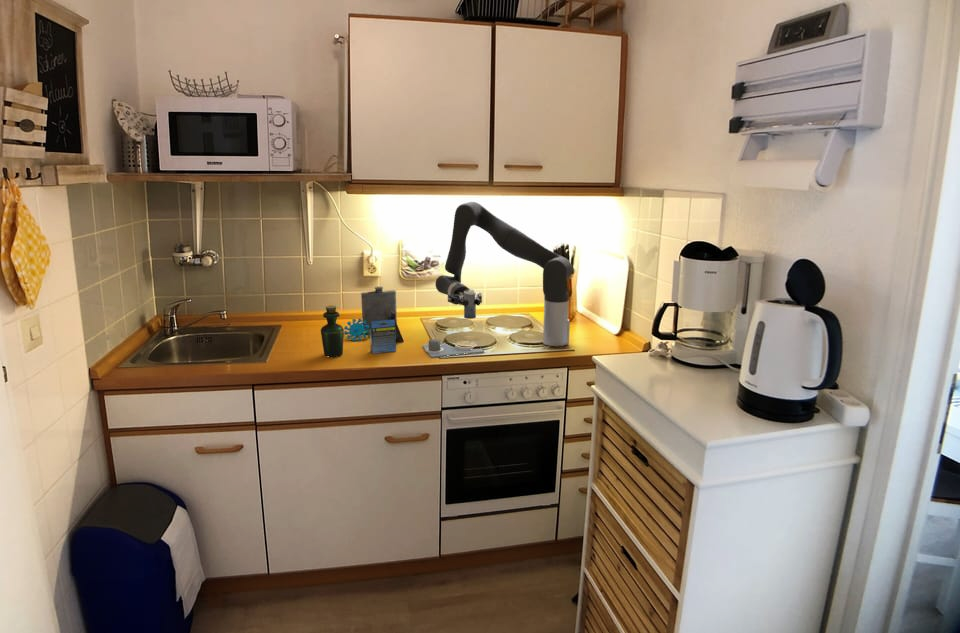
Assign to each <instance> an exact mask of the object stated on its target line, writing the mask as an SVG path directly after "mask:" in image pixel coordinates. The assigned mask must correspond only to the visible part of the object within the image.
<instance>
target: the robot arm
mask: <svg viewBox="0 0 960 633" xmlns="http://www.w3.org/2000/svg"><path fill="white" fill-rule="evenodd" d="M472 226H476V227H477V228H480V229H482V230H483V231H485V232H486V233H488V234H489V236H491V237H492V238H493V240H494V241H495V243H496V244H497V245H498V246H499V247H500V248H501V249H503V250H504V251H506V252H508V253H509V254H510V255H513V257H514V256H515V257H516V258H519V259H522V260H525V261H528V262H531V263H534V264H536V265H537V266H538V267H541V268H542V269H543V270H542V292H543V298H544V300H543V302H544V303H543V304H544V305H543V332H542V344H544V345H545V346H549V347H562V346H566V345H570V329H571V326H570V325H571V320H570V319H569V300H570V295H569V292H568V290H567V280H568V279H569V278H570V277H571V276H572V274H573V271H574V269H573V265H572V263H571V261H570V260H569V259H568V258H566V257H564V256H562V255H560V254H558V253H556V252H555V251H551V250H550V249H548V248H547V247H545V246H543V245H542V244H540V243H539V242H537V241H536V240H535V239H533V238H531V237H529V236H528V235H526V233H524V232H522V231H520V230H519V229H517V228H516V227H514V226H512V225H510V224H509V223H507V222H505V221H504V220H502V219H501V218H499V217H497V216H496V215H494V214H493V213H491V212H490V211H489V210H488V209H486V208H485V207H484V206H483V205H481V204H480V203H478V202H476V201H469V202H464V203H461V204H459V205H458V206H457V208H456V209H455V211H454V219H453V226H452V235H451V243H450V247H449V251H448V254H447V258H446V262H445V265H444V270H445V271H446V272H447V273H448V274H451V275H453V276H451V275H450V276H449V275H444V274H443V275H439V276H438V277H437V278H436V281H435V288H436V290H437V291H438V292H439V293H440V294H443V295H447V303H450V304H453V305H459V306H463V307H464V306H467V301H466V300H465V299H464V291H465V290H471V289H470V288H469V287H468V286H467V285H465V284H464V283H462V272H463V271H462V270H463V266H464V264H465V260H466V255H467V246H466V245H467V244H466V243H467V237H468V233H469V231H470V229H471V227H472ZM482 294H483V293H481V292H479V293H476V306H480V305H481V304H482V303H483V299H482V298H483V295H482Z"/></svg>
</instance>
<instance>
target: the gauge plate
mask: <svg viewBox="0 0 960 633" xmlns="http://www.w3.org/2000/svg"><path fill="white" fill-rule="evenodd" d="M469 341H470V340H465V341H464V340H463V341H462V342H469ZM457 342H458V343H460V342H461V341H457ZM474 342H475V341H473V342H469V343H473V344H474V345H473V346H471V347H461V346H458V345H457V344H458V343H457V344H454V345H455V348H454V347H452V346H450V345H448V344H446V343H447V342H444V343H442V342H441V340H440V339H438V338H431V339H429V340H428V342H427V343H428V344H422V346H421V347H422V348H423V350H425V352H426V353H427V354H428V356H429V357H430V358H431V359H433V358H443V357H442V356H446V357H448V356H447V355H456V354H464V353H465V354H466V353H476V354H484V353H485V351H484V350H483V349H482V348H481V349H476V350H471V349H473V348H474V347H475V346H476V345H478V344H477V343H476V342H475V343H476V344H475V343H474ZM440 345H441V346H440ZM466 355H467V354H466ZM456 356H457V355H456Z"/></svg>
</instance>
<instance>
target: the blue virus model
mask: <svg viewBox="0 0 960 633" xmlns="http://www.w3.org/2000/svg"><path fill="white" fill-rule="evenodd" d="M346 324H347V325H348V326H349V327H348V326H347V325H344V327H343V329H344V335H345V336H346V339H348V340H349V339H351V341H352V342H355V341H356V339H357V341H359V342H360V341H362V338H363V339H365V338H367V337H368V338H370V330H366V329H364V328H365V327H366V328H369V325H363V324H367V323H366V321H365V320H364V321H363V322H362V318H360V317H359V318H358V319H356V318H352V324H351V321H347V322H346ZM361 337H362V338H361Z"/></svg>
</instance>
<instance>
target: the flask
mask: <svg viewBox="0 0 960 633" xmlns="http://www.w3.org/2000/svg"><path fill="white" fill-rule="evenodd" d="M383 289H384V287H383V286H375V287H374V290H371V291H367V292H361V293H360V298H361V316H362V318H361V319H362V321H361V323H362V322H363V321H364V320H365V321H366V323H367V324H363V325H369V328H366V327H365V328H364V329H366V330H370V329H371V321H383V320H384V318H385V314H384V312H385V311H386V310H388V311H389V310H391V311H392V312H393V313H394V314H395V316H396V317H395V320H396V323H397V322H398V320H397V319H398V318H397V317H398V316H397V313H398V312H397V290H393V289H392V290H383ZM389 312H390V311H389ZM390 313H391V312H390ZM390 315H391V314H390ZM390 315H389V316H390ZM382 324H383V323H382ZM382 324H379V325H382ZM397 324H398V323H397Z"/></svg>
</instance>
